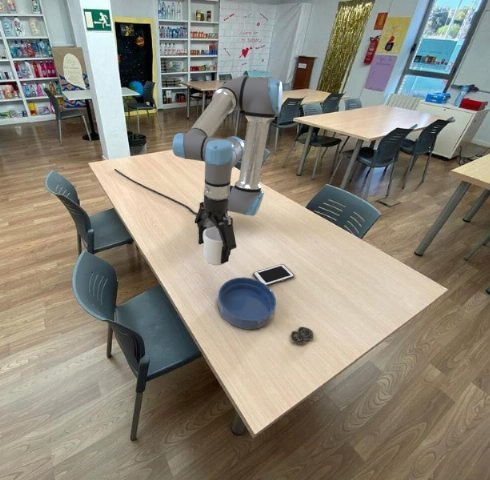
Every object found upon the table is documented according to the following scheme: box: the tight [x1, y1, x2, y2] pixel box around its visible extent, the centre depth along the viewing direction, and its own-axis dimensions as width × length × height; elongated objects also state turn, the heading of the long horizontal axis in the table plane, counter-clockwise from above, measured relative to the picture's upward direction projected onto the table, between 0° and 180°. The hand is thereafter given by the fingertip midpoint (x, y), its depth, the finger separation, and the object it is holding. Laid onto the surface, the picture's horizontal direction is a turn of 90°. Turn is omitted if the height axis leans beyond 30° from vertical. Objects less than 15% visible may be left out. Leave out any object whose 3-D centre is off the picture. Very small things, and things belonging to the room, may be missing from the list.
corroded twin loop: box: [290, 326, 314, 345], centre depth 88 cm, size 5×8×1 cm, turn 118°
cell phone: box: [252, 263, 295, 287], centre depth 110 cm, size 8×15×1 cm, turn 112°
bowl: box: [217, 276, 277, 330], centre depth 97 cm, size 19×19×5 cm
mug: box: [203, 227, 224, 266], centre depth 94 cm, size 12×8×10 cm
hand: (212, 252), depth 96 cm, fingers closed on mug, 12 cm apart
